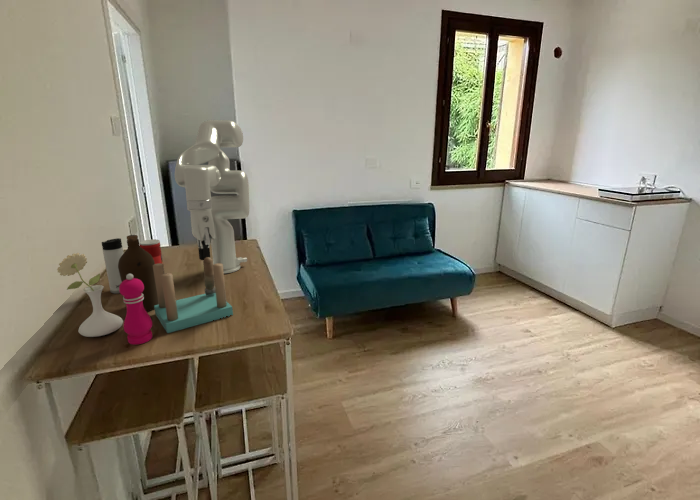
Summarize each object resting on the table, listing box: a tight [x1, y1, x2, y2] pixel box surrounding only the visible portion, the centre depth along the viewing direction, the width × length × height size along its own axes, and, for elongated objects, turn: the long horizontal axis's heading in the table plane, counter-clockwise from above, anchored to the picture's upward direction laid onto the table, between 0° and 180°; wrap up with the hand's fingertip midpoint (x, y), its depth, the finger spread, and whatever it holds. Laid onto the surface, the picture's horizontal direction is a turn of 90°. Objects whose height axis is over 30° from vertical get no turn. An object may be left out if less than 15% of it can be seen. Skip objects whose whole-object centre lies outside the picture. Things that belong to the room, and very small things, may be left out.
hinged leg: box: [202, 256, 216, 295], centre depth 133 cm, size 3×3×14 cm
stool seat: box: [153, 263, 234, 334], centre depth 125 cm, size 20×16×17 cm
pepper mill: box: [119, 274, 153, 346], centre depth 109 cm, size 7×7×20 cm
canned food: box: [139, 238, 164, 264], centre depth 172 cm, size 8×8×11 cm
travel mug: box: [101, 237, 125, 294], centre depth 144 cm, size 6×7×20 cm
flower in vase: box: [56, 252, 124, 338], centre depth 113 cm, size 13×11×25 cm
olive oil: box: [118, 234, 159, 313], centre depth 129 cm, size 11×11×25 cm
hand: (205, 259), depth 132 cm, fingers closed
